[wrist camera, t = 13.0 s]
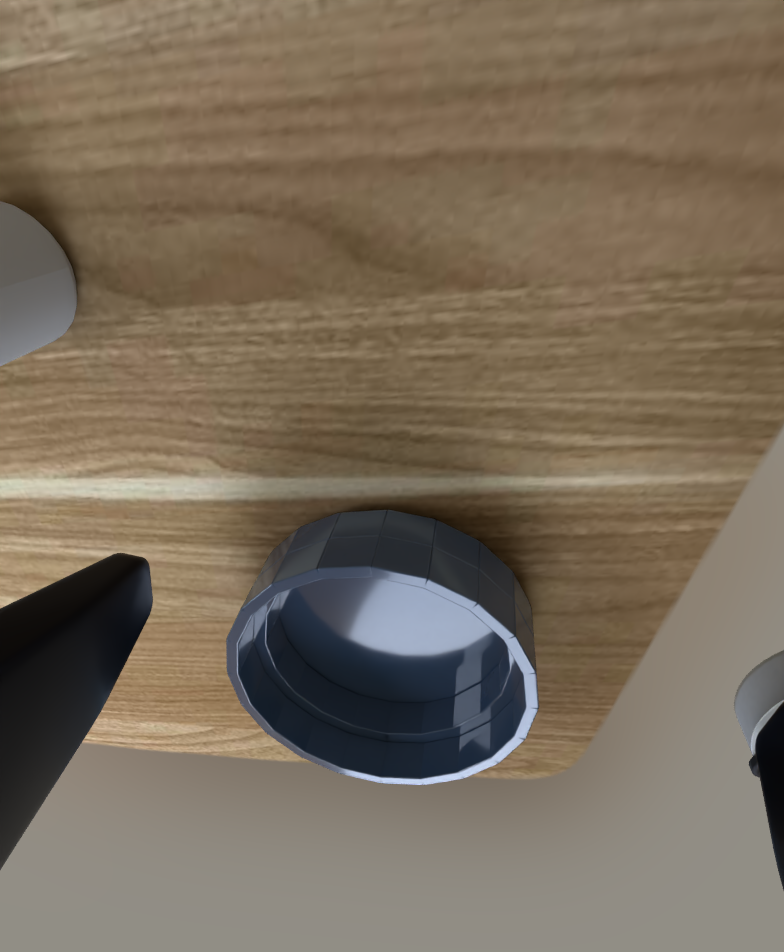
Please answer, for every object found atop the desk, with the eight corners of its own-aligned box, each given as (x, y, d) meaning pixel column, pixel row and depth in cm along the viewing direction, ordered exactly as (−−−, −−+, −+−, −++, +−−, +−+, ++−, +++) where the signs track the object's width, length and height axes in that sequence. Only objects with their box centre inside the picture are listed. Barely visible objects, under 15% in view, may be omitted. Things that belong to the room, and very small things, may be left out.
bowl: (568, 537, 22) (581, 610, 19) (495, 730, 29) (495, 810, 25) (263, 476, 23) (223, 535, 20) (258, 677, 29) (227, 748, 26)
